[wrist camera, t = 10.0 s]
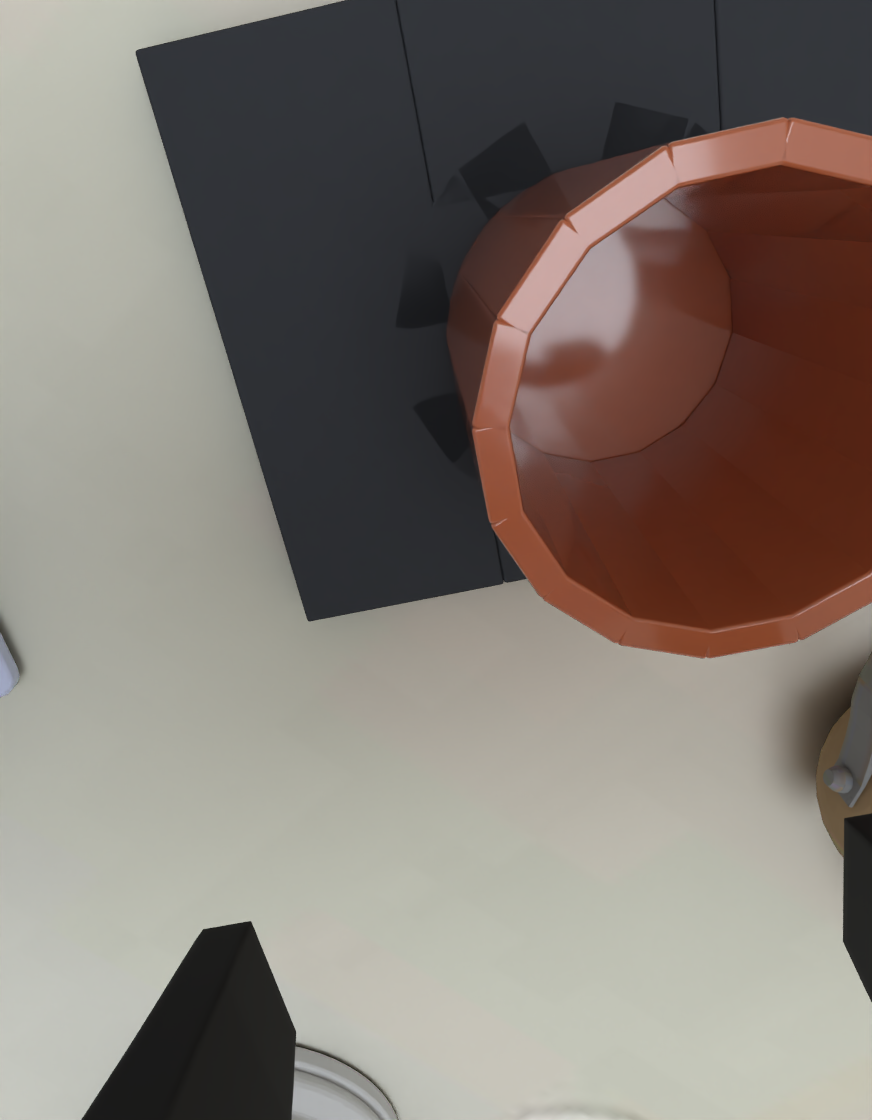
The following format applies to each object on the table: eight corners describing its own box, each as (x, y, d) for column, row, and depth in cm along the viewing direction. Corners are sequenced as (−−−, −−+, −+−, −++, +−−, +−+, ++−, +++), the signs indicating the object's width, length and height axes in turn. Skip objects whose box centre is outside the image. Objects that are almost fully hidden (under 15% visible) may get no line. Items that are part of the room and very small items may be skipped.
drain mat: (311, 606, 18) (307, 622, 18) (148, 58, 14) (133, 50, 13) (1020, 467, 17) (1047, 479, 17) (1084, -163, 13) (1123, -186, 12)
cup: (476, 493, 16) (522, 694, 10) (419, 203, 14) (427, 195, 7) (746, 438, 16) (993, 606, 9) (732, 133, 14) (1043, 58, 7)
